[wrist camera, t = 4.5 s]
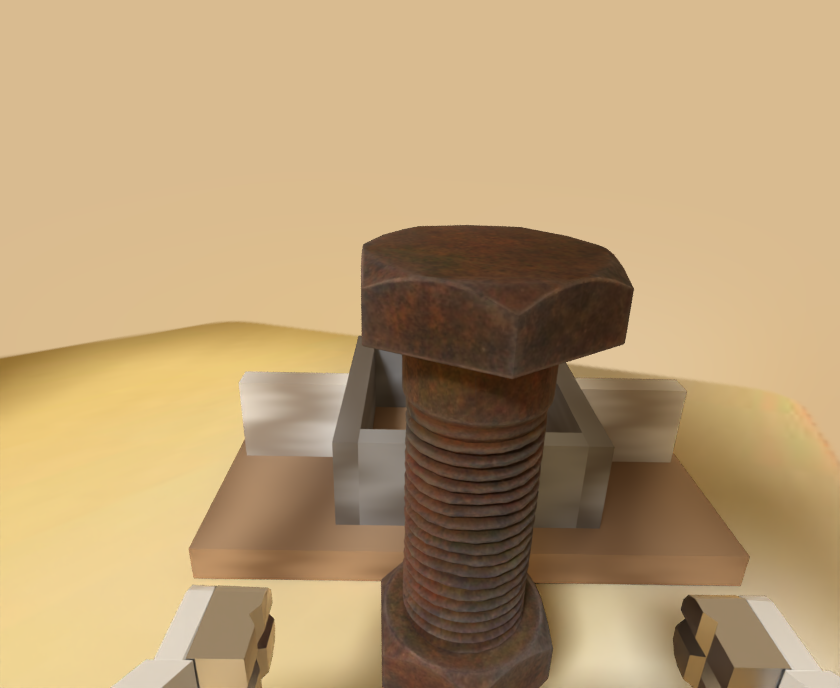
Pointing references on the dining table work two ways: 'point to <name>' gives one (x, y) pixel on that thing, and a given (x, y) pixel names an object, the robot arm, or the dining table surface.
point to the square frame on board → (384, 484)
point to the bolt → (478, 433)
